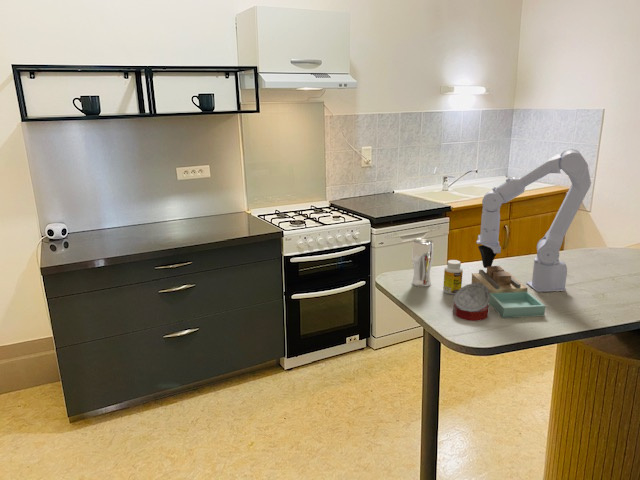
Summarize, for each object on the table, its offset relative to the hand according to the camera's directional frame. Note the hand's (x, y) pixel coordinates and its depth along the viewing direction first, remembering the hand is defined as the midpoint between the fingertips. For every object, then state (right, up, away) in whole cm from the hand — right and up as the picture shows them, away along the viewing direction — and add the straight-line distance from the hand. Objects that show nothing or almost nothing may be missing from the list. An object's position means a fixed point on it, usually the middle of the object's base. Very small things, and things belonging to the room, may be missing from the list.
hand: (487, 267), depth 164 cm
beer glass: (-22, -6, +1) cm, 23 cm away
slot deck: (+1, -7, -8) cm, 11 cm away
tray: (+1, -11, -20) cm, 23 cm away
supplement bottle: (-14, -8, -7) cm, 17 cm away
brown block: (0, -3, -6) cm, 7 cm away
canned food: (-12, -12, -22) cm, 28 cm away
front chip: (+1, -4, -11) cm, 12 cm away
